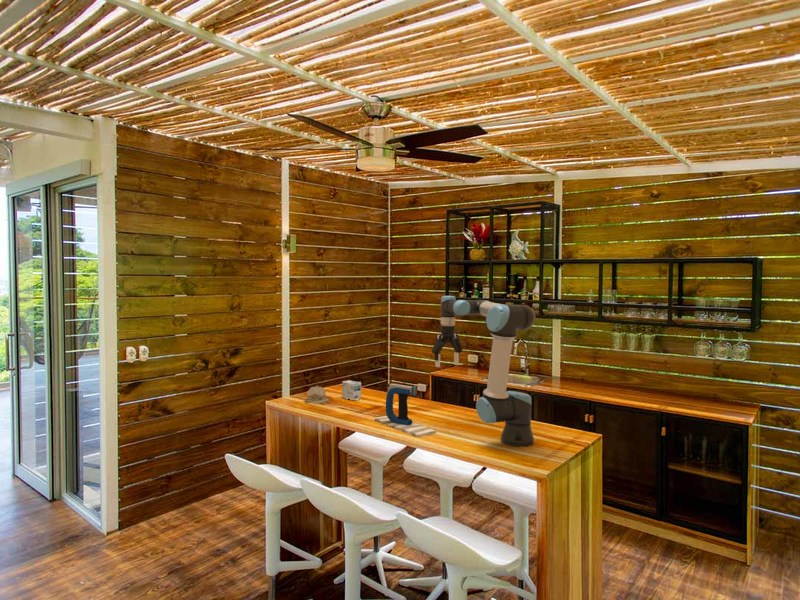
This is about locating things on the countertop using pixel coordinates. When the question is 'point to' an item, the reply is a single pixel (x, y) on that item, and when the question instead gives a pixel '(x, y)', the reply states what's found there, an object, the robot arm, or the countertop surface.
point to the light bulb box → (351, 390)
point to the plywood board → (407, 427)
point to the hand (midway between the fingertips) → (447, 365)
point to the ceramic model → (316, 395)
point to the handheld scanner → (402, 405)
